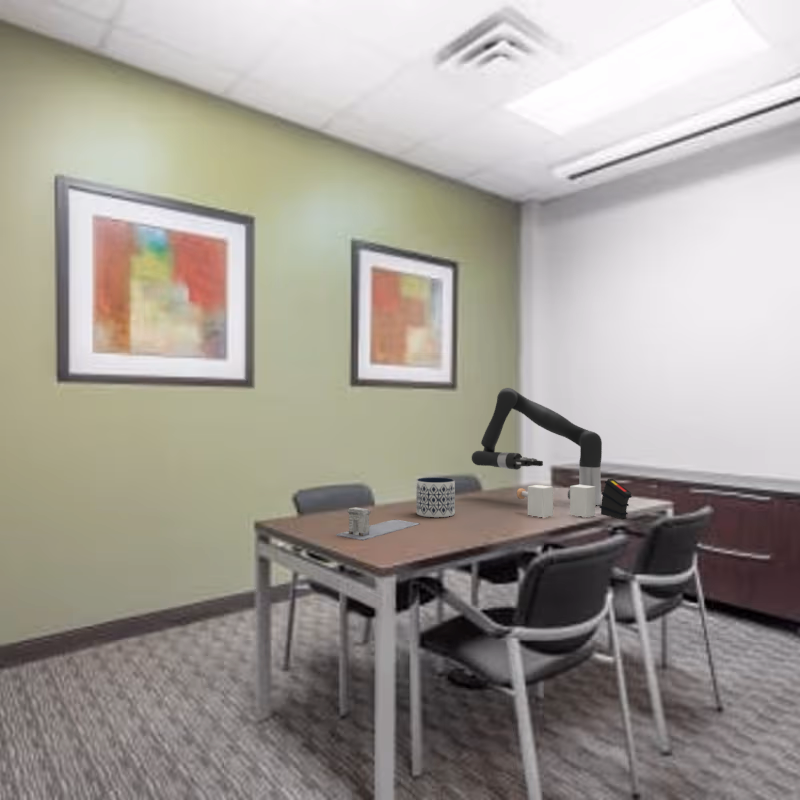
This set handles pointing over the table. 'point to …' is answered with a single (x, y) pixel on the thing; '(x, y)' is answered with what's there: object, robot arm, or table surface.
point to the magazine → (614, 499)
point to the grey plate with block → (362, 529)
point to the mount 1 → (540, 500)
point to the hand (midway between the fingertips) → (541, 463)
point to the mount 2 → (582, 500)
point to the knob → (522, 493)
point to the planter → (435, 497)
